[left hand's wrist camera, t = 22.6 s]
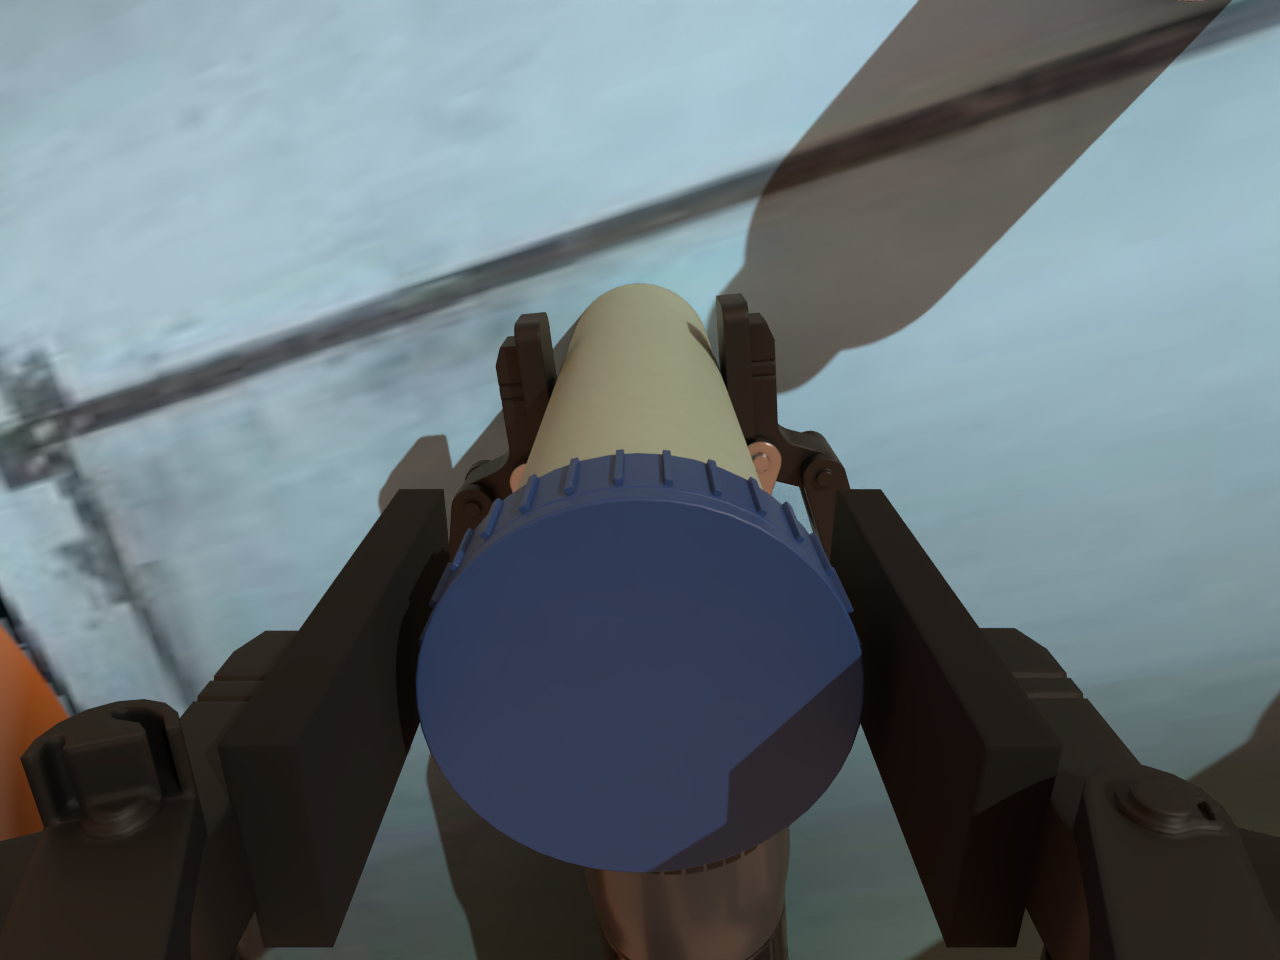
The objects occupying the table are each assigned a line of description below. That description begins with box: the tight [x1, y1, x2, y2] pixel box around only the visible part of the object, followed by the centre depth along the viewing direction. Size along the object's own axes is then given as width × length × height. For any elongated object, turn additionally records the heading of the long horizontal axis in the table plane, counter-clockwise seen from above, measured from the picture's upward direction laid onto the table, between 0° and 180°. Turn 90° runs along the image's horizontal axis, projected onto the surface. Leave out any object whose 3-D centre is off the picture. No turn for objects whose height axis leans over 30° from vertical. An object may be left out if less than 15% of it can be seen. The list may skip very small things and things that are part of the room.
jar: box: [517, 284, 763, 490], centre depth 21 cm, size 5×5×19 cm
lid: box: [415, 449, 865, 873], centre depth 12 cm, size 6×6×2 cm
